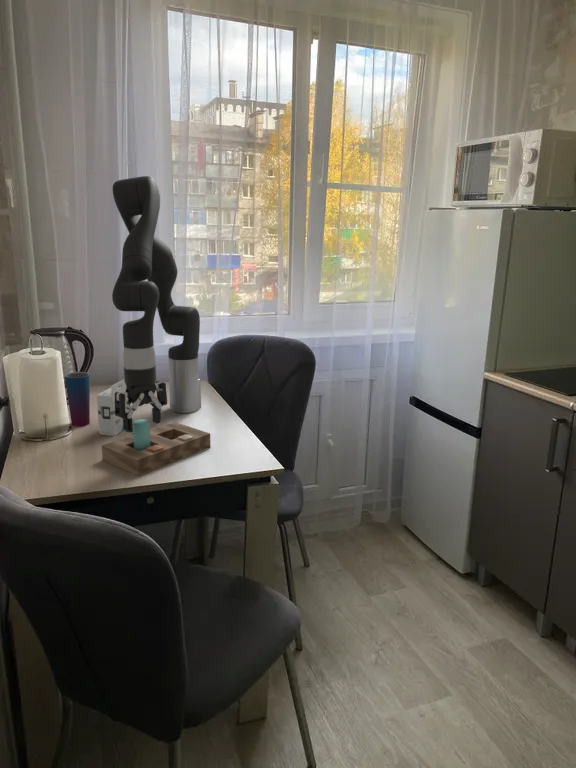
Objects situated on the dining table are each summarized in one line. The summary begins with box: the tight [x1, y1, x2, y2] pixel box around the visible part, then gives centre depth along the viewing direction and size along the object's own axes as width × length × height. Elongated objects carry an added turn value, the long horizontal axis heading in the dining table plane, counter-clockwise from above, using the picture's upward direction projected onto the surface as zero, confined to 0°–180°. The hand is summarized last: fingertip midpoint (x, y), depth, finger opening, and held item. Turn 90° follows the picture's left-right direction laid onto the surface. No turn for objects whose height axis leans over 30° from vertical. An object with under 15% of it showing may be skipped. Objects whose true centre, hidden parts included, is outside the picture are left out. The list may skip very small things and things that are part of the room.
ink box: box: [96, 378, 127, 437], centre depth 164 cm, size 9×5×15 cm, turn 168°
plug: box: [132, 419, 151, 451], centre depth 145 cm, size 4×4×10 cm
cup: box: [64, 371, 91, 428], centre depth 169 cm, size 7×7×15 cm
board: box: [101, 421, 211, 476], centre depth 149 cm, size 24×14×4 cm, turn 142°
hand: (142, 427), depth 144 cm, fingers open, 8 cm apart
